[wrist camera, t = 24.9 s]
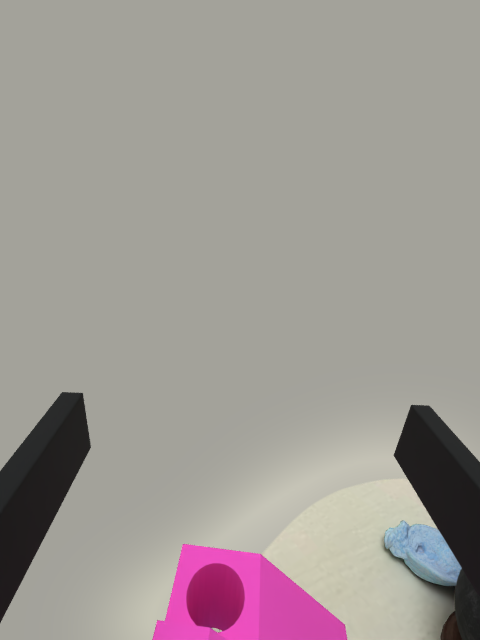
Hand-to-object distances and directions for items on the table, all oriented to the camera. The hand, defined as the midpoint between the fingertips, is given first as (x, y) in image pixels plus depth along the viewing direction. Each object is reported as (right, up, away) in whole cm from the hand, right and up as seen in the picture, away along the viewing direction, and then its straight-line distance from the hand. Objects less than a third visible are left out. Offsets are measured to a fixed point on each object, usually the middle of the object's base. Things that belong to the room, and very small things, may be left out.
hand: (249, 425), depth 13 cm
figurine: (+25, -27, +26) cm, 45 cm away
